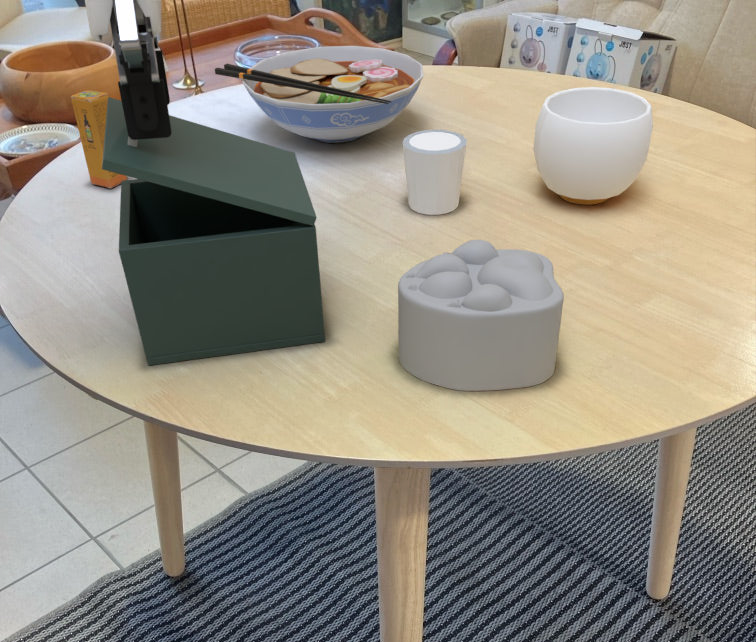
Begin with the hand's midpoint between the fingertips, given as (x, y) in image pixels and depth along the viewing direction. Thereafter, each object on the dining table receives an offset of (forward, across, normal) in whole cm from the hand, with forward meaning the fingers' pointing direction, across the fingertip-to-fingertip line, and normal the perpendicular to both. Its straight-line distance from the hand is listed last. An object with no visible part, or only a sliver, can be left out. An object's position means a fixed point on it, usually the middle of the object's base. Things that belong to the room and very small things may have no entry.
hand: (150, 118), depth 67 cm
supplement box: (+19, -34, -8) cm, 39 cm away
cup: (+17, -16, +45) cm, 51 cm away
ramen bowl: (+18, -42, +21) cm, 50 cm away
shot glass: (+18, -18, +28) cm, 38 cm away
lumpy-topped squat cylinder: (+17, +12, +24) cm, 32 cm away
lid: (+4, 0, +4) cm, 6 cm away
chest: (+18, 0, +4) cm, 18 cm away
